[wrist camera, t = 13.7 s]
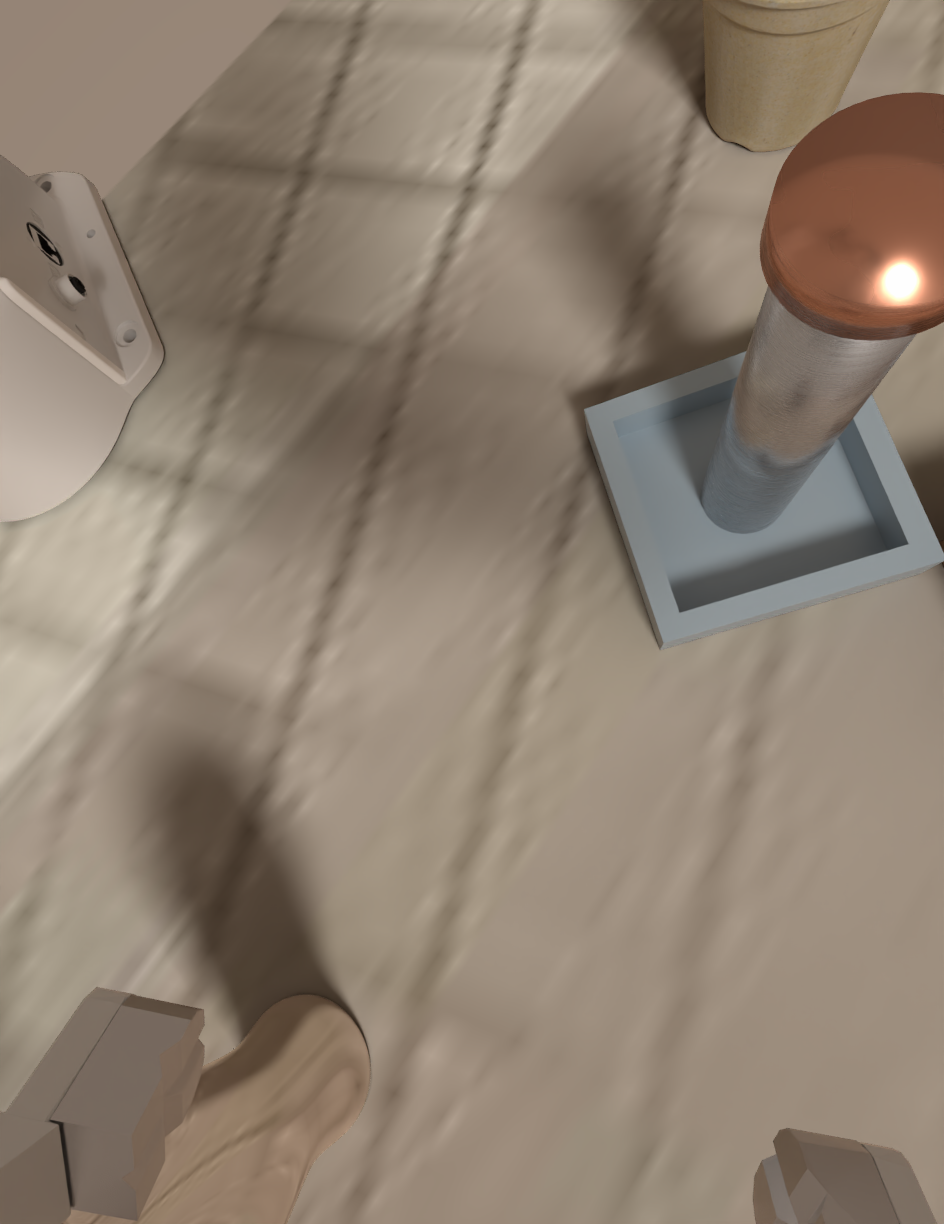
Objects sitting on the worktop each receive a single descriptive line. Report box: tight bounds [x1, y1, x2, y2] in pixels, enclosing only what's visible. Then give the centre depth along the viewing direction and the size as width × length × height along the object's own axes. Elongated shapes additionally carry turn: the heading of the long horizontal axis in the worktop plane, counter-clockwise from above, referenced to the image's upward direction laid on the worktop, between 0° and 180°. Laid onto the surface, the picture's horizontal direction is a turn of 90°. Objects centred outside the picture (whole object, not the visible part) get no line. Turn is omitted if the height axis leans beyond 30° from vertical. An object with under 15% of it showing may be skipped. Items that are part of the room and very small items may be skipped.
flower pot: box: [703, 0, 890, 152], centre depth 29 cm, size 9×9×9 cm
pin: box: [701, 93, 944, 534], centre depth 21 cm, size 5×5×17 cm
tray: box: [584, 351, 944, 650], centre depth 29 cm, size 11×11×2 cm
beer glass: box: [62, 994, 371, 1224], centre depth 23 cm, size 7×7×15 cm
